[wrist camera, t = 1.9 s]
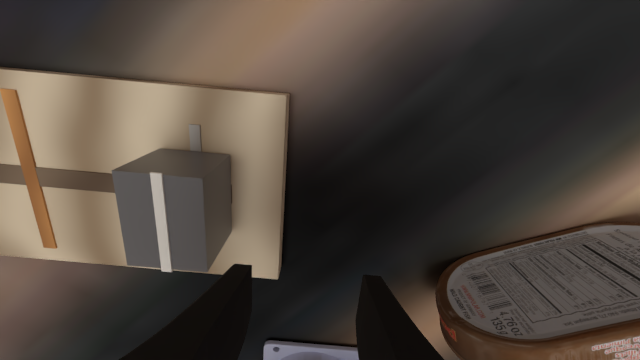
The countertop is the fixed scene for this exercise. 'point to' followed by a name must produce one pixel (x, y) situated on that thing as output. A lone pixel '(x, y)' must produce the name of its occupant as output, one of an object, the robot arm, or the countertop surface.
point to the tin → (547, 297)
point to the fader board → (125, 146)
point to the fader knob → (174, 208)
